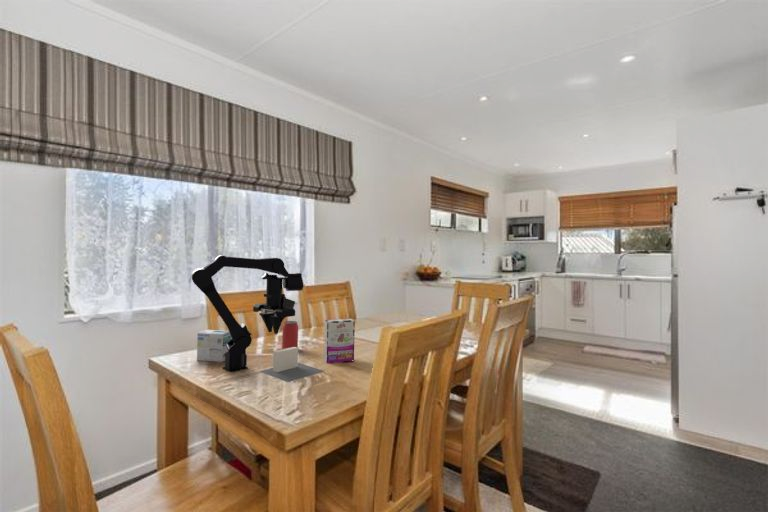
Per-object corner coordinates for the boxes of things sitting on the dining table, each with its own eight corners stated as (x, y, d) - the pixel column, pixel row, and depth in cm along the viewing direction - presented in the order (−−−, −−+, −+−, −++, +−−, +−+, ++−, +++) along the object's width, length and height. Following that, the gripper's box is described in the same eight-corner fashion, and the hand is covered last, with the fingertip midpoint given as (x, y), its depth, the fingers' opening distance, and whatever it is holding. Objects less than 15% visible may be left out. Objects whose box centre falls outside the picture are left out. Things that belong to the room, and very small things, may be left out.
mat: (287, 383, 124) (287, 382, 124) (259, 372, 134) (259, 371, 134) (324, 371, 136) (324, 371, 136) (296, 362, 146) (296, 361, 146)
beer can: (295, 352, 161) (296, 323, 161) (279, 351, 161) (280, 323, 161) (299, 348, 168) (300, 321, 168) (284, 347, 168) (285, 320, 168)
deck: (276, 372, 133) (277, 352, 133) (272, 370, 135) (273, 351, 135) (297, 366, 140) (298, 347, 140) (293, 365, 142) (293, 346, 142)
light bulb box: (231, 357, 150) (232, 330, 150) (222, 362, 144) (223, 333, 144) (205, 356, 151) (206, 329, 151) (195, 360, 145) (196, 332, 145)
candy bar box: (350, 358, 154) (351, 318, 154) (354, 361, 150) (355, 320, 150) (323, 360, 150) (324, 319, 150) (326, 364, 146) (327, 321, 145)
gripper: (307, 292, 143) (306, 333, 143) (277, 288, 154) (276, 326, 154) (282, 294, 134) (281, 338, 134) (252, 289, 146) (251, 330, 146)
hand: (273, 332), depth 142 cm, fingers open, 3 cm apart
